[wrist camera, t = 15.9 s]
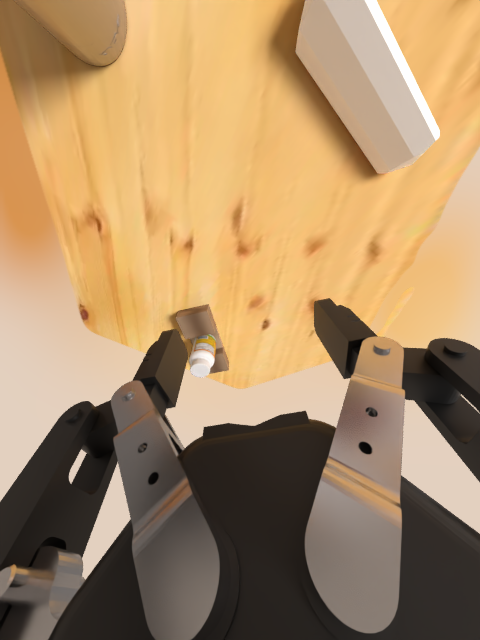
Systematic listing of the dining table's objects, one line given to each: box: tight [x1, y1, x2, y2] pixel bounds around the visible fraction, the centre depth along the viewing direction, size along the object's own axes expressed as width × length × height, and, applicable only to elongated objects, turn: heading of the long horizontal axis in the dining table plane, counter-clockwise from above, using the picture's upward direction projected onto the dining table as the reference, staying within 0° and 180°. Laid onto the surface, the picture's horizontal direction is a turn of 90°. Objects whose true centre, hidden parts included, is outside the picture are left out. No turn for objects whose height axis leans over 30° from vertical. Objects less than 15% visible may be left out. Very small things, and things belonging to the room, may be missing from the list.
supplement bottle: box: [189, 334, 216, 377], centre depth 44 cm, size 5×5×10 cm
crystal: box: [295, 0, 440, 173], centre depth 25 cm, size 7×7×24 cm
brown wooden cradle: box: [176, 304, 229, 374], centre depth 48 cm, size 7×18×3 cm, turn 13°
